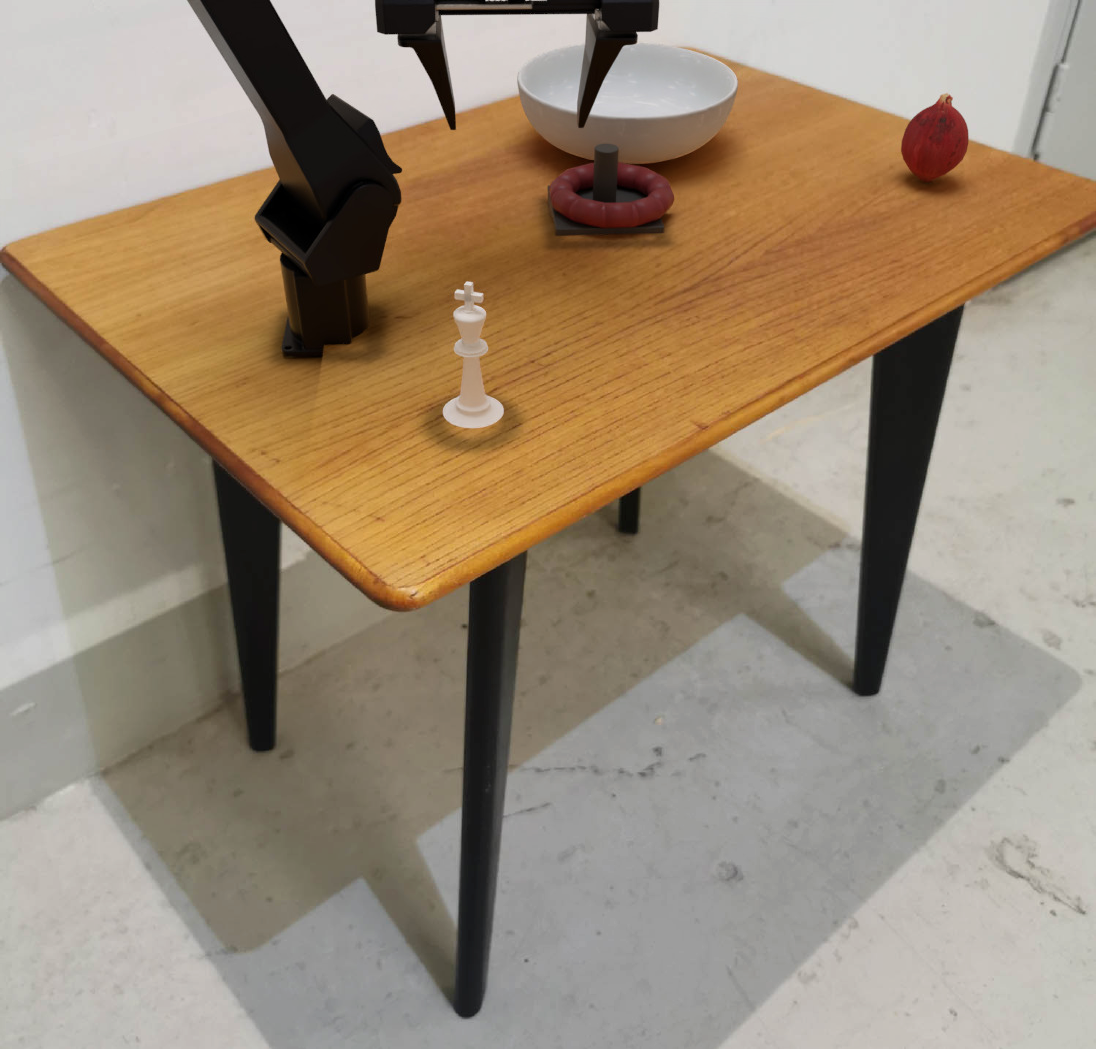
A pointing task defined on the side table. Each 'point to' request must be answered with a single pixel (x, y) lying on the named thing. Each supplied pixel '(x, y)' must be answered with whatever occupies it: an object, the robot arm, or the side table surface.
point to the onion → (935, 140)
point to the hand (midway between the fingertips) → (517, 127)
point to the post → (603, 198)
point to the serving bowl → (630, 101)
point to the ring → (612, 213)
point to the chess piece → (471, 367)
